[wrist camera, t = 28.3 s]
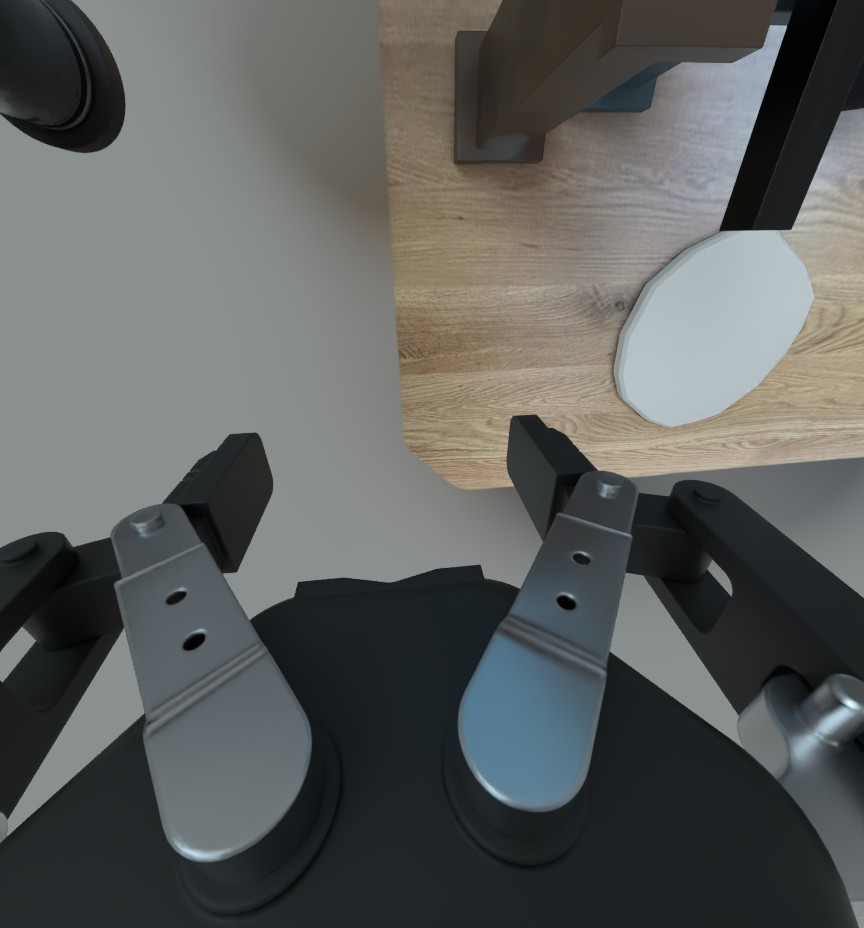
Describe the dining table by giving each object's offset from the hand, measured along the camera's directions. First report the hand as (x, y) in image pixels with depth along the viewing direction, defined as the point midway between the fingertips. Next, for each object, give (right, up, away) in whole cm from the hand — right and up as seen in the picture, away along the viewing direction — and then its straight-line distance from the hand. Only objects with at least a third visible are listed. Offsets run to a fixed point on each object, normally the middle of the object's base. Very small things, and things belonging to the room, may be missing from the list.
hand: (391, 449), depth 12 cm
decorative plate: (+38, +17, +39) cm, 58 cm away
